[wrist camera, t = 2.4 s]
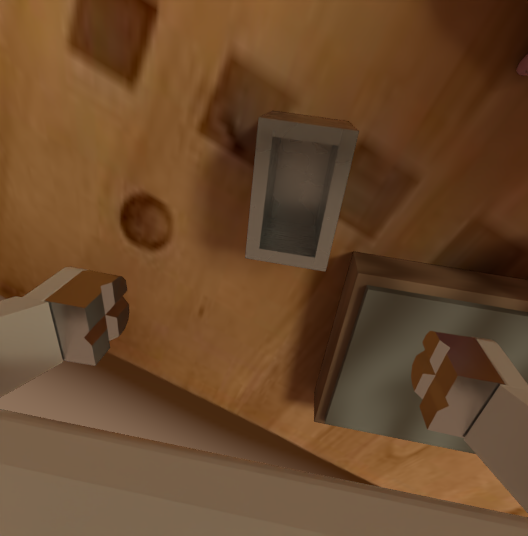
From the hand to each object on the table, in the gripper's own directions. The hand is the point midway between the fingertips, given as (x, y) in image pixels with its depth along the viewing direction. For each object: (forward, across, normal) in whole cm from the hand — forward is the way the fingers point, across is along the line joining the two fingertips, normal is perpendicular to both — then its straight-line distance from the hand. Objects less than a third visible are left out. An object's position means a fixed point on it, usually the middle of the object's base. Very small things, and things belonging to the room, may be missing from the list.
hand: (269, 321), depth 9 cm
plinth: (+17, -13, +13) cm, 25 cm away
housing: (+17, 0, 0) cm, 17 cm away
